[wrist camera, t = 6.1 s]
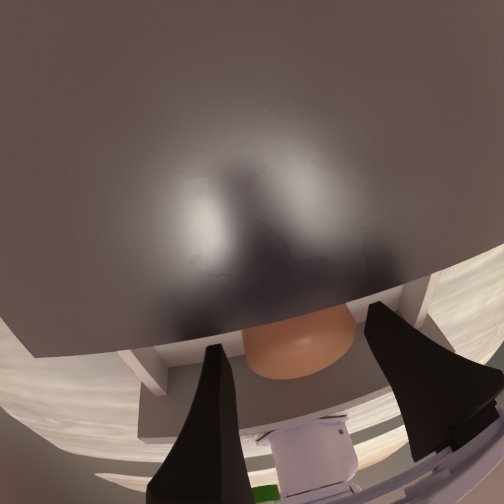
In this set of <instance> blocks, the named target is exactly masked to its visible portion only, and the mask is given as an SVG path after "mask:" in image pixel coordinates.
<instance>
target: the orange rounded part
mask: <svg viewBox="0 0 504 504" xmlns="http://www.w3.org/2000/svg"><path fill="white" fill-rule="evenodd" d="M241 333H242V339H243V345H244V350H245V356H246V361H247V364H248V366H249V367H250V369H251V370H252V371H254V372H255V373H256V374H258V375H260V376H263V377H266V378H270V379H280V380H283V379H294V378H300V377H304V376H307V375H310V374H313V373H316V372H318V371H320V370H322V369H324V368H326V367H328V366H330V365H331V364H333V363H334V362H336V361H337V360H338V359H339V358H341V357H342V356H343V355H344V354H345V353H346V352H347V350H348V349H349V348H350V347H351V345H352V343H353V342H354V340H355V337H356V333H357V324H356V321H355V319H354V317H353V315H352V314H351V312H350V310H349V308H348V307H347V305H346V303H344V304H341V305H337V306H334V307H331V308H327V309H324V310H320V311H316V312H313V313H309V314H305V315H302V316H298V317H294V318H290V319H286V320H282V321H278V322H274V323H270V324H266V325H261V326H257V327H253V328H248V329H244V330H241Z"/></svg>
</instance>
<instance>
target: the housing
mask: <svg viewBox="0 0 504 504" xmlns="http://www.w3.org/2000/svg"><path fill="white" fill-rule="evenodd" d="M503 243H504V0H0V317H1V318H2V319H3V321H4V322H5V323H6V325H7V326H8V327H9V328H10V330H11V331H12V332H13V333H14V335H15V336H16V337H17V338H18V339H19V341H20V342H21V343H22V344H23V345H24V346H25V348H26V349H27V350H28V351H29V352H30V353H31V354H32V355H33V356H34V358H42V357H60V356H73V355H85V354H96V353H105V352H114V351H122V350H130V349H138V348H145V347H152V346H158V345H165V344H171V343H177V342H183V341H188V340H194V339H199V338H205V337H210V336H215V335H220V334H225V333H230V332H234V331H239V330H244V329H248V328H253V327H257V326H261V325H266V324H270V323H274V322H278V321H282V320H286V319H290V318H294V317H298V316H302V315H305V314H309V313H313V312H316V311H320V310H324V309H327V308H331V307H334V306H337V305H341V304H344V303H348V302H351V301H354V300H357V299H361V298H364V297H367V296H370V295H373V294H376V293H379V292H382V291H385V290H388V289H391V288H394V287H397V286H400V285H403V284H406V283H408V282H411V281H414V280H417V279H419V278H422V277H425V276H427V275H430V274H433V273H435V272H438V271H440V270H443V269H446V268H448V267H451V266H453V265H455V264H458V263H460V262H463V261H465V260H468V259H470V258H472V257H475V256H477V255H479V254H481V253H484V252H486V251H488V250H490V249H493V248H495V247H497V246H499V245H501V244H503Z"/></svg>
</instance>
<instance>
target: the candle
mask: <svg viewBox="0 0 504 504" xmlns="http://www.w3.org/2000/svg"><path fill="white" fill-rule="evenodd" d="M252 493H253V496H254V500H255V503H256V504H259V503H260V504H274V501H277V500H280V496H279V491H278V487H277V485H267V486H261V487H255V488H252Z"/></svg>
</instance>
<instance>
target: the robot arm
mask: <svg viewBox="0 0 504 504" xmlns="http://www.w3.org/2000/svg"><path fill="white" fill-rule="evenodd" d="M364 335H365V337H366V340H367V342H368V345H369V347H370V349H371V352H372V353H373V355H374V357H375V359H376V361H377V362H378V364H379V366H380V368H381V370H382V371H383V373H384V375H385V377H386V379H387V381H388V382H389V384H390V386H391V388H392V390H393V393H394V395H395V398H396V400H397V403H398V406H399V408H400V411H401V414H402V417H403V420H404V424H405V428H406V431H407V435H408V439H409V444H410V449H411V454H412V458H413V460H414V462H417V461H419V460H421V459H423V458H424V457H426V456H428V455H429V454H431V453H433V452H436V455H434V456H433V457H431V458H429V459H427V460H426V461H424V462H422V463H421V464H419V465H417V466H415V467H413V468H412V469H410V470H407V471H405V472H404V473H402V474H399V475H398V476H395V477H393V478H391V479H389V480H387V481H384V482H382V483H380V484H378V485H375V486H373V487H370V488H368V489H366V490H363V491H362V489H361V488H360V487H359V486H358V485H355V484H354V483H350V484H349V483H348V481H349V480H350V479H351V478H352V477H353V476H354V475H355V473H356V471H357V467H358V460H357V456H356V453H355V450H354V447H353V445H352V442H351V439H350V436H349V434H348V431H347V428H346V426H345V423H344V422H346V421H347V420H348V417H338V418H326V419H315V420H311V421H308V422H304V423H300V424H297V425H293V426H289V427H285V428H280V429H276V430H274V431H273V432H271V433H270V434H268V435H267V436H265V437H264V438H262V439H261V440H259V441H258V442H257V443H256V445H257V446H271V449H272V454H273V458H274V463H275V466H276V471H277V476H278V480H279V484H280V489H281V493H282V497H283V499H281V500H282V503H277V504H368V503H367V501H370V500H372V499H375V498H377V497H379V496H382V495H384V494H386V493H388V492H390V491H393V490H395V489H397V488H399V487H401V486H403V485H405V484H407V483H409V482H411V481H413V480H415V479H416V478H418V477H420V476H422V475H424V474H425V473H427V472H429V471H431V470H432V469H433V471H432V474H431V475H429V476H426V477H424V478H422V479H420V480H419V481H417V482H415V483H413V484H412V485H410V486H408V487H406V488H405V489H404V491H405V495H403V496H401V497H399V498H397V499H395V500H392V501H390V502H388V503H385V504H456V503H457V502H458V501H460V500H461V499H462V498H463V497H464V496H466V495H467V494H468V493H469V492H470V491H471V490H472V489H473V488H475V486H477V485H478V484H479V483H480V482H481V481H482V480H483V479H484V478H485V477H486V476H487V475H488V474H489V473H490V472H491V471H492V470H493V469H494V468H495V467H496V466H497V465H498V464H499V463H500V462H501V460H502V459H503V458H504V403H503V404H502V405H501V406H500V407H499V408H498V409H497V410H496V408H495V405H496V404H497V403H496V401H495V398H496V397H497V396H498V395H499V394H500V393H501V392H502V391H503V390H504V374H503V373H502V371H501V370H499V369H495V368H492V367H488V366H484V365H482V364H479V363H476V362H473V361H471V360H468V359H466V358H464V357H462V356H460V355H457V354H455V353H453V352H451V351H450V350H448V349H446V348H444V347H443V346H441V345H439V344H437V343H436V342H434V341H433V340H431V339H430V338H428V337H427V336H425V335H424V334H422V333H421V332H420V331H418V330H417V329H416V328H414V327H413V326H412V325H410V324H409V323H408V322H406V321H405V320H404V319H403V318H401V317H400V316H399V315H397V314H396V313H395V312H394V311H392V310H391V309H390V308H389V307H387V306H386V305H385V304H384V303H382V302H381V301H378V302H375V303H372V304H369V306H368V312H367V317H366V323H365V328H364ZM146 504H256V503H255V500H254V496H253V493H252V489H251V485H250V482H249V478H248V474H247V470H246V465H245V461H244V456H243V451H242V447H241V442H240V436H239V427H238V415H237V402H236V390H235V383H234V378H233V373H232V368H231V365H230V363H229V361H228V358H227V356H226V354H225V351H224V349H223V347H222V344H221V343H219V344H214V345H209V346H207V347H206V349H205V356H204V361H203V366H202V370H201V375H200V378H199V382H198V386H197V389H196V393H195V396H194V399H193V401H192V404H191V407H190V410H189V413H188V415H187V418H186V420H185V423H184V425H183V427H182V429H181V432H180V434H179V436H178V438H177V440H176V442H175V444H174V445H173V447H172V449H171V451H170V452H169V454H168V456H167V457H166V459H165V461H164V462H163V464H162V466H161V467H160V468H159V470H158V471H157V473H156V474H155V475H154V477H153V478H152V479H151V481H150V482H149V483H148V485H147V490H146Z"/></svg>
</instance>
